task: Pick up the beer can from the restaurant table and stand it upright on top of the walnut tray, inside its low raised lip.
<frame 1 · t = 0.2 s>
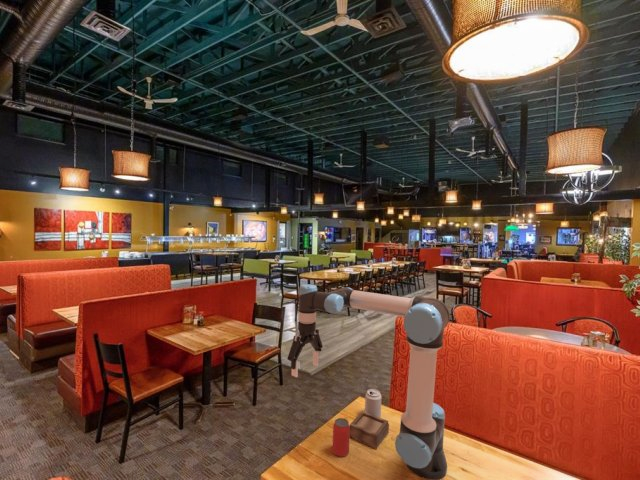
hand: (305, 370, 135), 27 cm above the table, tool pointing down, fingers open, 13 cm apart
can: (372, 417, 150), on the table
walnut tray: (368, 434, 137), on the table
beer can: (340, 452, 126), on the table
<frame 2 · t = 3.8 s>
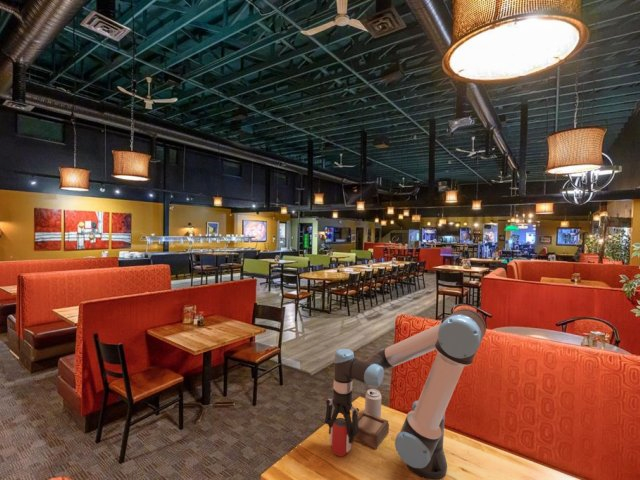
hand: (340, 445, 126), 2 cm above the table, tool pointing down, fingers closed on beer can, 7 cm apart
beer can: (339, 451, 126), on the table, touching gripper
everything else where it was.
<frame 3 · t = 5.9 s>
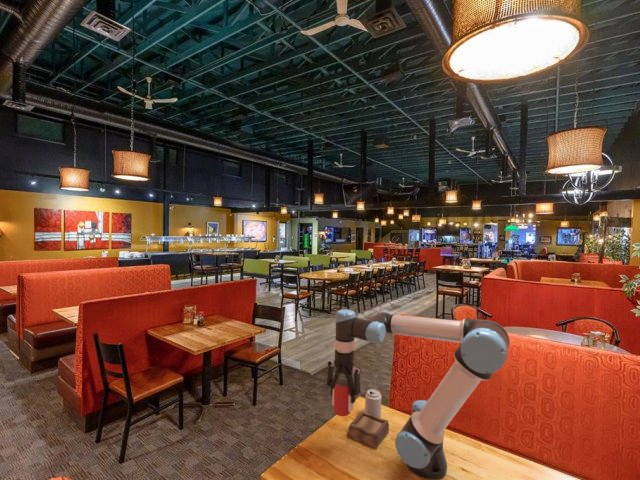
hand: (342, 407, 125), 18 cm above the table, tool pointing down, fingers closed on beer can, 6 cm apart
beer can: (341, 412, 125), point 16 cm above the table, touching gripper
everything else where it was.
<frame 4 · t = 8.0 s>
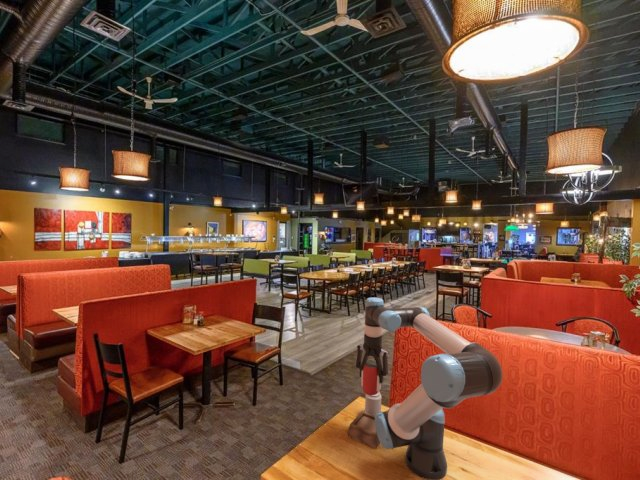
hand: (370, 387, 136), 21 cm above the table, tool pointing down, fingers closed on beer can, 6 cm apart
beer can: (370, 392, 136), point 19 cm above the table, touching gripper
everything else where it was.
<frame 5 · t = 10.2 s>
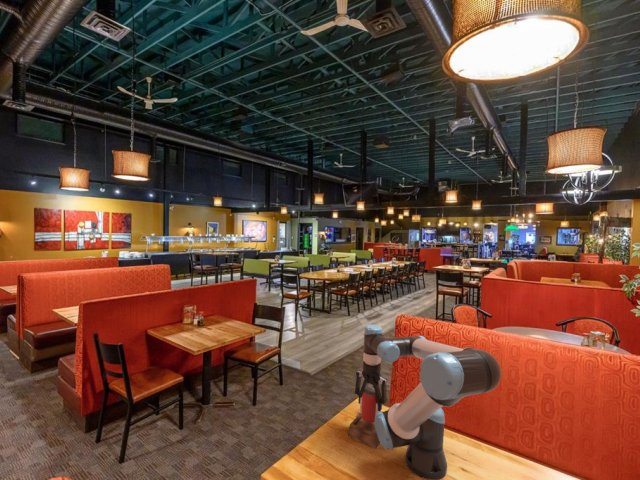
hand: (369, 414, 137), 9 cm above the table, tool pointing down, fingers closed on beer can, 6 cm apart
beer can: (368, 419, 136), point 7 cm above the table, touching gripper
everything else where it was.
when the fingers open (6 cm above the table, at t = 12.2 s): beer can stays where it is, resting on walnut tray.
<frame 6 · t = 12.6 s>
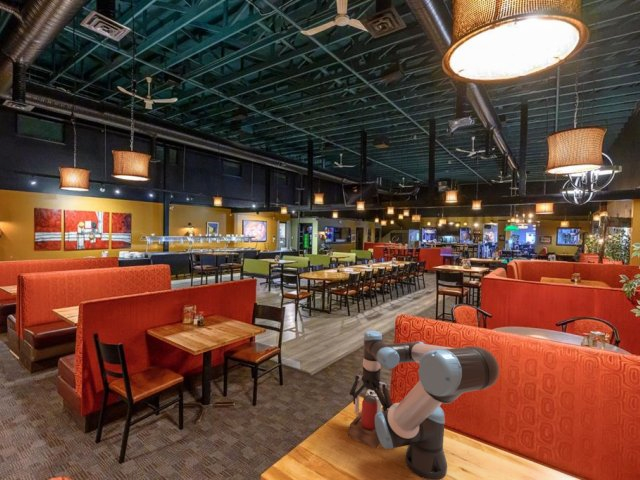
hand: (369, 417, 137), 8 cm above the table, tool pointing down, fingers open, 11 cm apart
beer can: (368, 426, 136), point 4 cm above the table, touching walnut tray
everything else where it was.
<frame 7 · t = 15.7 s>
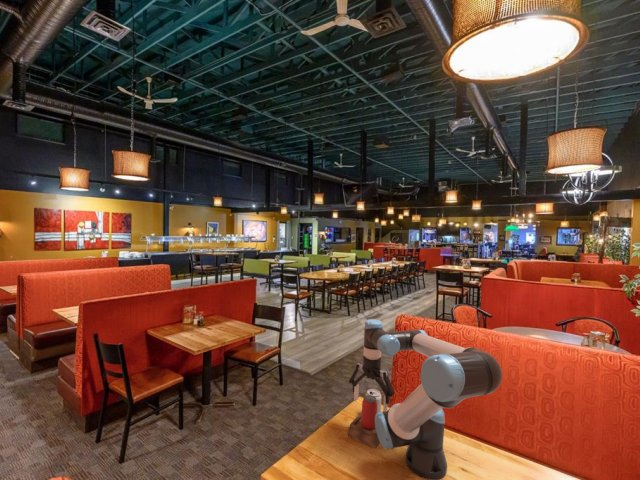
hand: (370, 405, 136), 13 cm above the table, tool pointing down, fingers open, 13 cm apart
nothing on the table moved.
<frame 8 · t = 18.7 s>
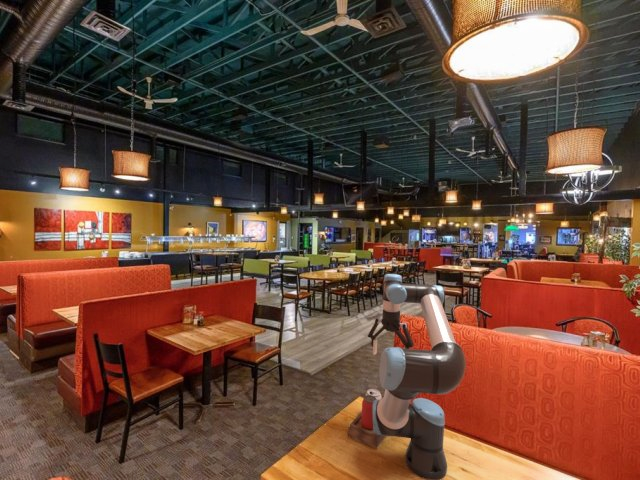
hand: (389, 357, 139), 33 cm above the table, tool pointing down, fingers open, 13 cm apart
nothing on the table moved.
at the end: beer can 0.4 cm off-centre on the walnut tray, point 3.8 cm above the walnut tray's base; beer can tilted 0°; the gripper is holding nothing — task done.
